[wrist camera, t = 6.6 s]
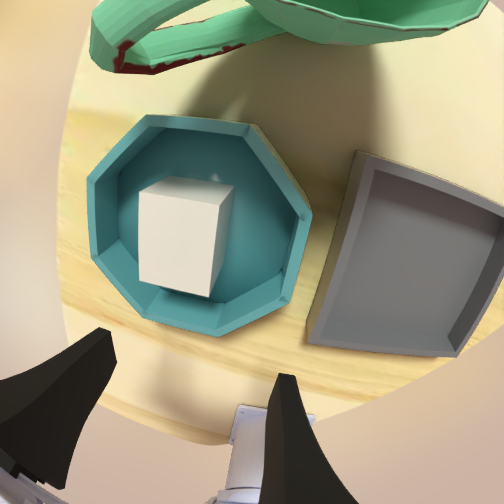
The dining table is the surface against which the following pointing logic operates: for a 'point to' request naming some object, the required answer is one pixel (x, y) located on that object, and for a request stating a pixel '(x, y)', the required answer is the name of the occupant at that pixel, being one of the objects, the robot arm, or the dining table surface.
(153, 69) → the mug
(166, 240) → the off-white smooth cube
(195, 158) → the bowl
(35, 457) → the robot arm
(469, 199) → the parts tray
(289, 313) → the dining table surface
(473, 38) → the dining table surface
